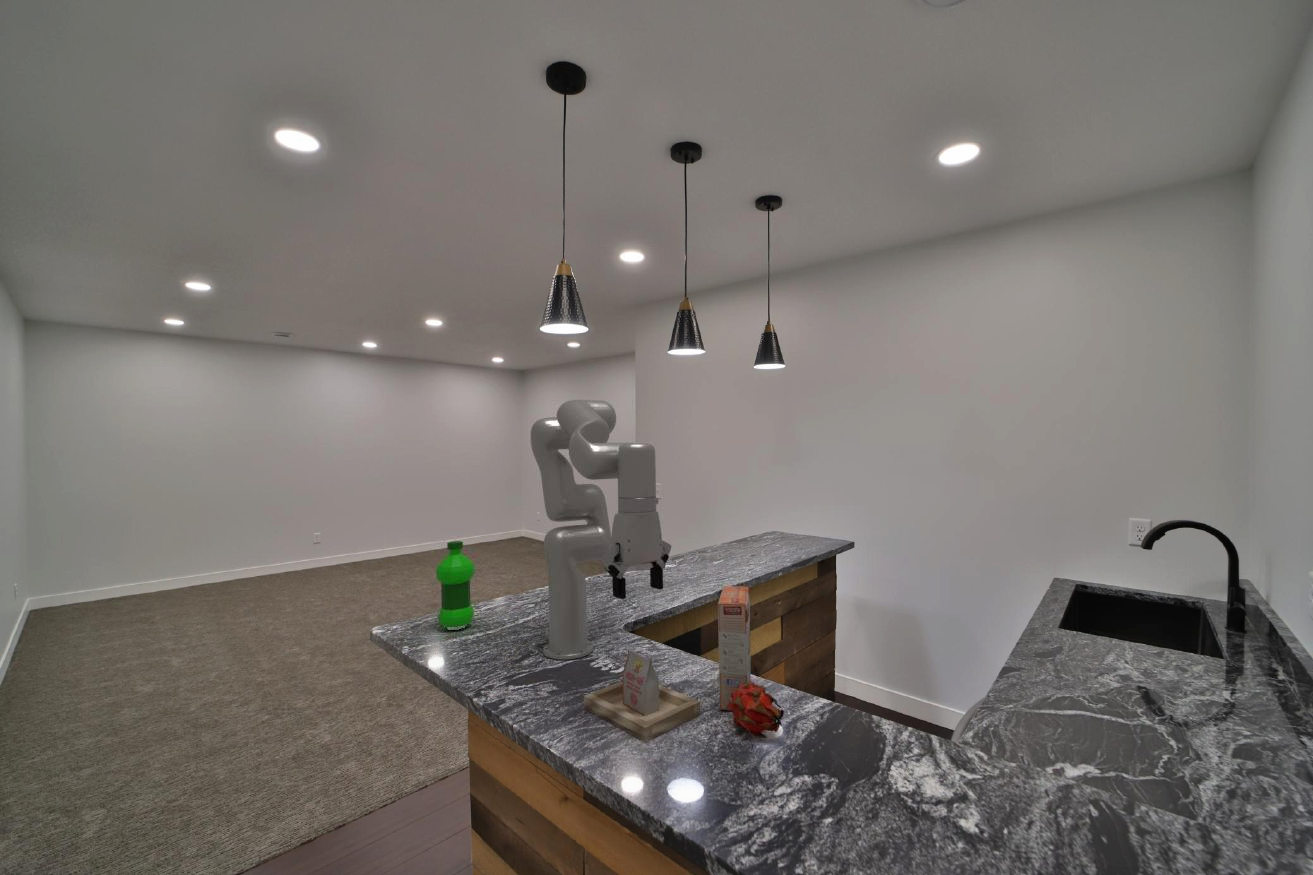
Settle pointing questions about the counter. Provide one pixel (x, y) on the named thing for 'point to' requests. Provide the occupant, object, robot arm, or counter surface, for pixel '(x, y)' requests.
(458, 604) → the plastic bottle
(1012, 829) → the counter surface
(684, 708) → the wooden tray
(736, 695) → the dragon fruit
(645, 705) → the white cardboard box
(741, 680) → the cracker box
